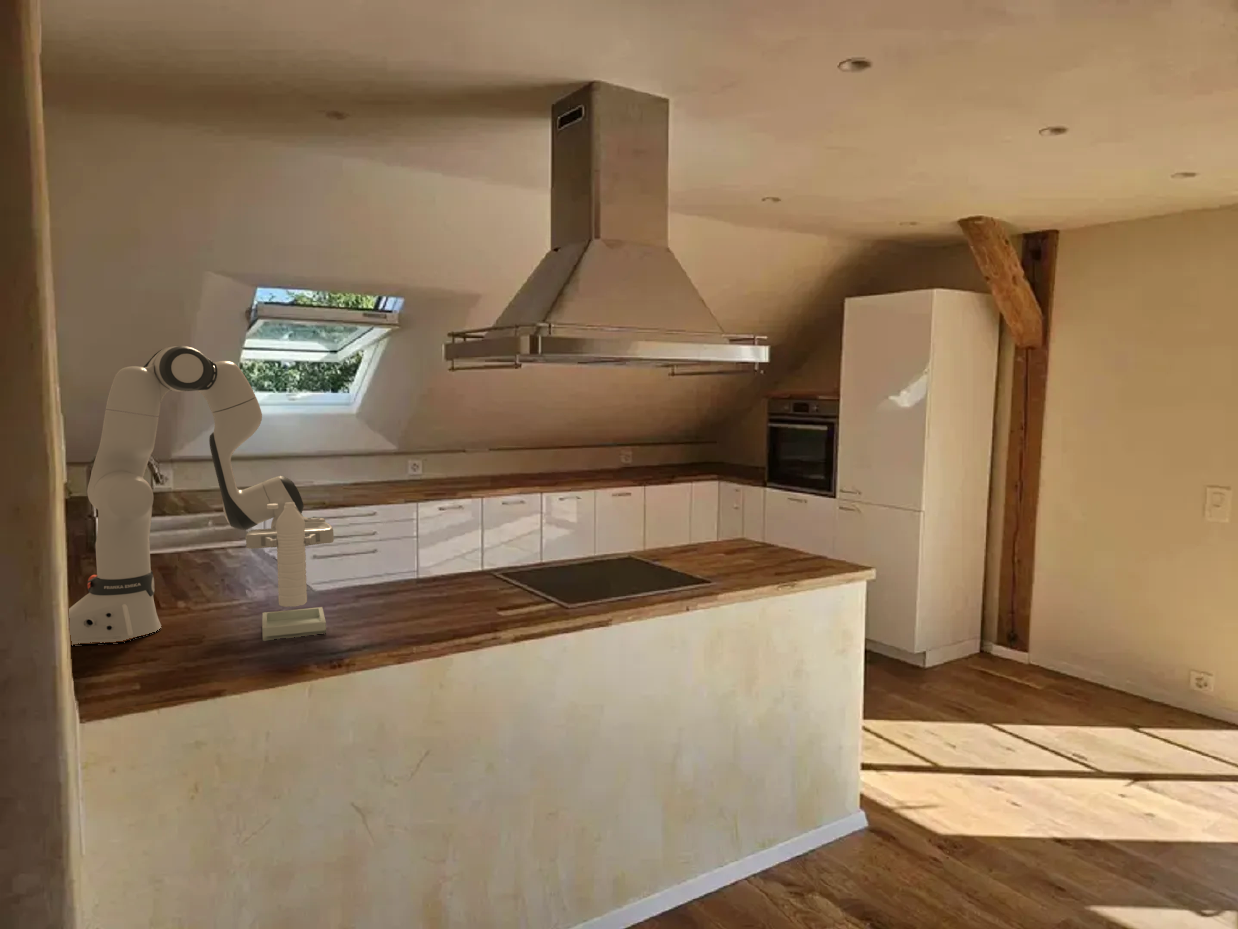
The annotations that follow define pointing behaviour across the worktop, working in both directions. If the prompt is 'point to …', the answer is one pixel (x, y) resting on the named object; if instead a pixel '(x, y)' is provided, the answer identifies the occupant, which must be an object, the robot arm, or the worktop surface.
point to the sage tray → (293, 623)
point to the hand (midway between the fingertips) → (291, 542)
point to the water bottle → (291, 556)
